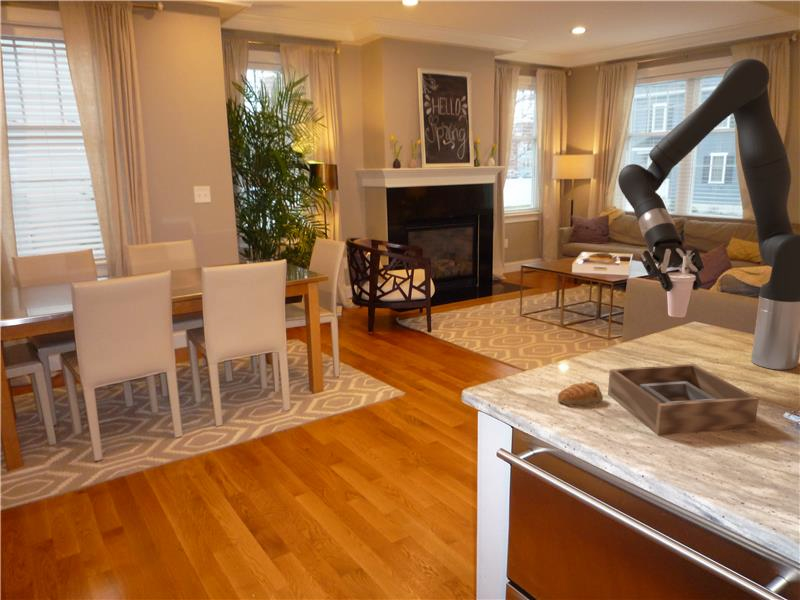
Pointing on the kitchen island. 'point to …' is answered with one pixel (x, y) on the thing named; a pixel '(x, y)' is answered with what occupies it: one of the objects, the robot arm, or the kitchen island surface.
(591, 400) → the pastry
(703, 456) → the kitchen island surface
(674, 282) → the smoothie
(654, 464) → the kitchen island surface
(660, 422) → the crate
